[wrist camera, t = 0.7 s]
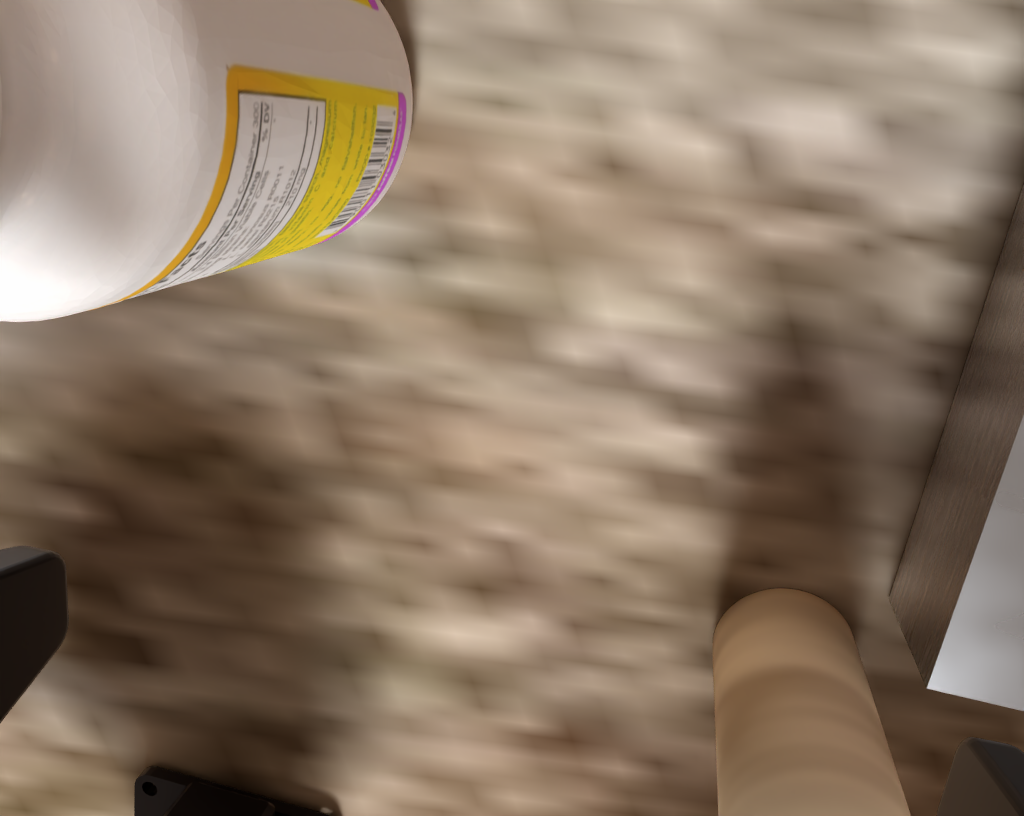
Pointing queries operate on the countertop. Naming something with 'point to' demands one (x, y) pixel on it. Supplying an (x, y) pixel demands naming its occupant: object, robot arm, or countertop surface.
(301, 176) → the supplement bottle
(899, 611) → the block
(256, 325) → the countertop surface
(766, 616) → the dowel
